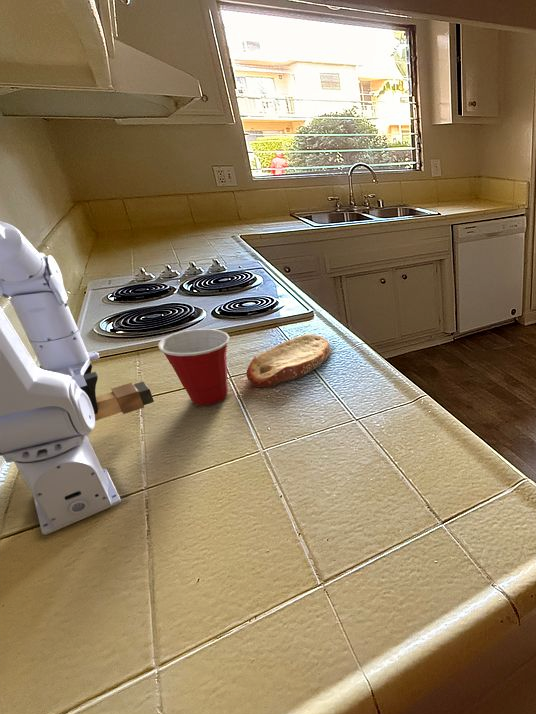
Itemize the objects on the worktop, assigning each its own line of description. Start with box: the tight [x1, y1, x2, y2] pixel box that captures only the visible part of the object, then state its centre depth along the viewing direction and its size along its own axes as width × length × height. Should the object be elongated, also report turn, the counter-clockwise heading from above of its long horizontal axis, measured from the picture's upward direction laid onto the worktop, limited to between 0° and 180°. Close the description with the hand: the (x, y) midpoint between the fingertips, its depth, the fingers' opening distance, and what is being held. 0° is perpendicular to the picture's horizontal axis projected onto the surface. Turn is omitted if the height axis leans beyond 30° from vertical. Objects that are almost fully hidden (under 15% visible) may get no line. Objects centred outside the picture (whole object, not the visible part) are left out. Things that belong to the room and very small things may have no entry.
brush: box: [94, 381, 155, 422], centre depth 76 cm, size 13×4×3 cm, turn 136°
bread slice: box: [246, 333, 332, 388], centre depth 98 cm, size 18×18×4 cm
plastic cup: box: [157, 328, 231, 407], centre depth 83 cm, size 11×11×12 cm
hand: (87, 411), depth 75 cm, fingers closed on brush, 2 cm apart
